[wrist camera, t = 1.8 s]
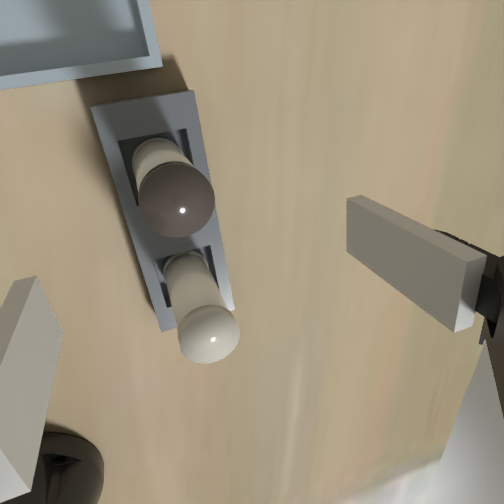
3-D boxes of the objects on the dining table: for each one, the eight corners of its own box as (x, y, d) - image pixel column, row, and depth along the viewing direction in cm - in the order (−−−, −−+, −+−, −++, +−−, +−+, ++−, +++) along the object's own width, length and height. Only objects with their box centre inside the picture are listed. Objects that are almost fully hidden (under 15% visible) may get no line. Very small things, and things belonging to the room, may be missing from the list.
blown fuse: (139, 193, 33) (150, 245, 23) (124, 142, 31) (129, 174, 21) (189, 182, 34) (220, 227, 24) (178, 132, 32) (207, 158, 22)
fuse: (168, 292, 38) (187, 371, 28) (157, 254, 36) (173, 324, 26) (210, 280, 39) (243, 352, 29) (202, 242, 37) (234, 305, 27)
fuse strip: (159, 318, 40) (161, 332, 38) (92, 105, 29) (90, 107, 27) (228, 297, 42) (234, 309, 39) (188, 89, 31) (193, 90, 29)
